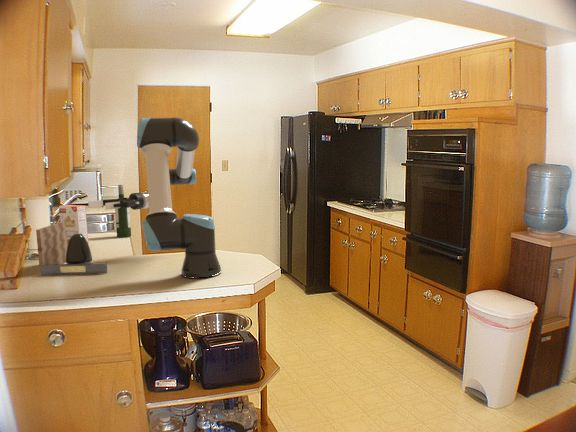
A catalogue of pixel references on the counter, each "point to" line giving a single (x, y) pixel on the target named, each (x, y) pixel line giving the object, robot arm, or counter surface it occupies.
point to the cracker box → (74, 220)
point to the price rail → (73, 269)
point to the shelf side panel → (52, 244)
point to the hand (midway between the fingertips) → (97, 205)
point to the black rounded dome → (78, 250)
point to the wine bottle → (122, 218)
